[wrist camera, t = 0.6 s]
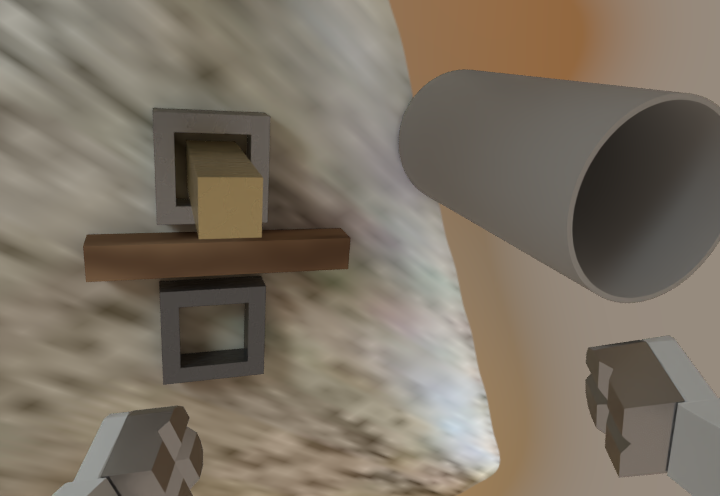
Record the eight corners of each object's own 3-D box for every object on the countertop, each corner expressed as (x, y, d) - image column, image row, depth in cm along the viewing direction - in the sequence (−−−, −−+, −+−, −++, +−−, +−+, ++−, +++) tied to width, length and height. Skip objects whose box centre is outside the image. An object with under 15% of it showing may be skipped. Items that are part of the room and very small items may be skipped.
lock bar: (185, 140, 47) (197, 177, 35) (234, 141, 49) (263, 177, 36) (186, 187, 49) (198, 239, 36) (234, 187, 50) (261, 237, 38)
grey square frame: (152, 107, 46) (152, 111, 43) (264, 112, 49) (270, 116, 46) (156, 216, 49) (157, 224, 46) (262, 214, 52) (267, 222, 49)
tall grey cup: (384, 193, 55) (542, 300, 33) (409, 58, 51) (606, 75, 29) (494, 204, 59) (699, 305, 37) (525, 80, 56) (771, 110, 34)
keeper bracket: (159, 281, 51) (159, 292, 48) (261, 276, 54) (265, 286, 51) (162, 370, 53) (163, 384, 51) (259, 360, 56) (263, 373, 54)
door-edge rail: (87, 234, 47) (83, 246, 45) (340, 228, 55) (350, 238, 52) (89, 268, 48) (86, 282, 46) (338, 257, 55) (348, 268, 53)
